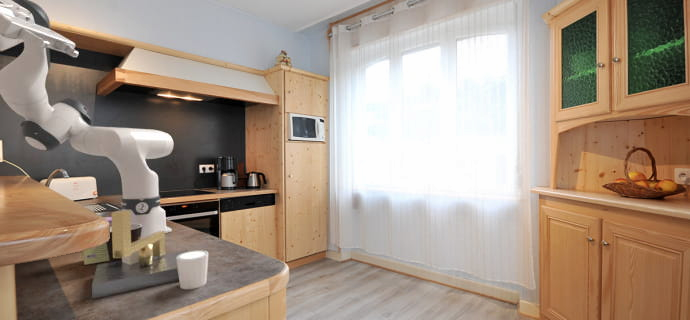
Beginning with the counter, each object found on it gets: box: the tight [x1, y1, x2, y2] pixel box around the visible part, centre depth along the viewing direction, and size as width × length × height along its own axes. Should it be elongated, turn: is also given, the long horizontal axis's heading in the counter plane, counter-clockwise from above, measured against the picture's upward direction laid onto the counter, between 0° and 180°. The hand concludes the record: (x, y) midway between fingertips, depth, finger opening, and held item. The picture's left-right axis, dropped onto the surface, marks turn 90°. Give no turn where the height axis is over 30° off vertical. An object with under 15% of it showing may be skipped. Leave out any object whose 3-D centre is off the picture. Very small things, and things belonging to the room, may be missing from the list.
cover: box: [122, 251, 139, 265], centre depth 81 cm, size 4×4×3 cm
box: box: [83, 216, 112, 266], centre depth 91 cm, size 10×6×12 cm, turn 125°
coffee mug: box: [106, 224, 142, 263], centre depth 89 cm, size 12×9×10 cm
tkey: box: [110, 209, 166, 266], centre depth 76 cm, size 16×3×15 cm, turn 0°
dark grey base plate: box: [91, 249, 189, 300], centre depth 78 cm, size 14×20×3 cm
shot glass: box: [176, 249, 209, 290], centre depth 74 cm, size 7×7×7 cm
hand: (61, 50), depth 81 cm, fingers open, 8 cm apart
